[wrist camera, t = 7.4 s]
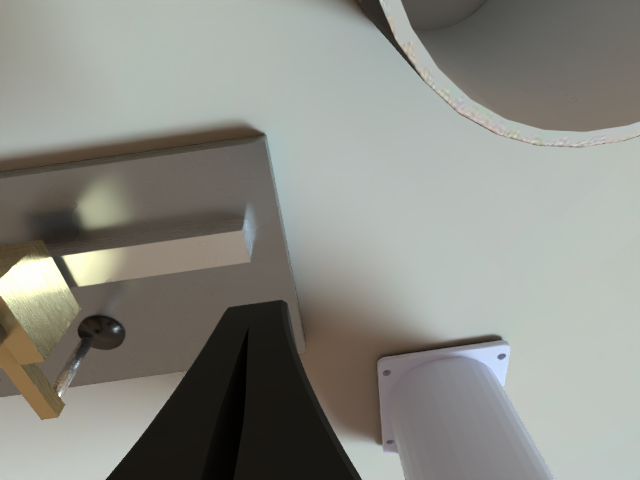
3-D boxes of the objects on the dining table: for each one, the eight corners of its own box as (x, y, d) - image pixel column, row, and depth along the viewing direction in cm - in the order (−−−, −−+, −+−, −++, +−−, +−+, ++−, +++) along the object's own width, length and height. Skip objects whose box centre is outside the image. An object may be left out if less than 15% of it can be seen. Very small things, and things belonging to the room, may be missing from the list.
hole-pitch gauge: (305, 340, 23) (311, 437, 18) (-74, 394, 23) (-180, 508, 18) (265, 134, 17) (256, 190, 12) (-253, 207, 17) (-495, 297, 11)
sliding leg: (116, 344, 20) (71, 431, 16) (64, 351, 20) (7, 441, 16) (54, 227, 17) (-23, 300, 12) (-8, 236, 17) (-106, 312, 12)
